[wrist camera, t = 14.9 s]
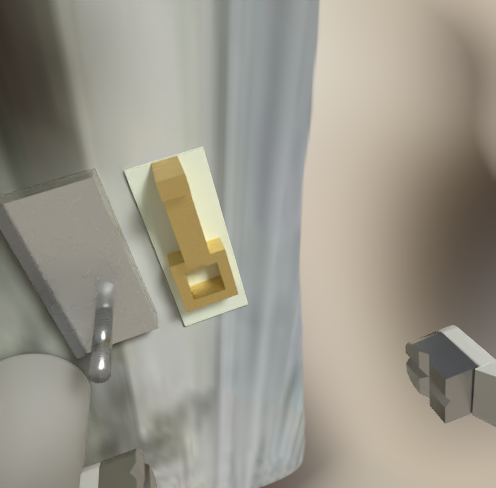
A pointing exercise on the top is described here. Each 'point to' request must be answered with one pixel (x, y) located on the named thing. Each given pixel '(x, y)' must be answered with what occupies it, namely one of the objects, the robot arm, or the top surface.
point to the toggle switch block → (79, 265)
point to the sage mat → (165, 237)
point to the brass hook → (191, 240)
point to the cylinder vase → (42, 422)
